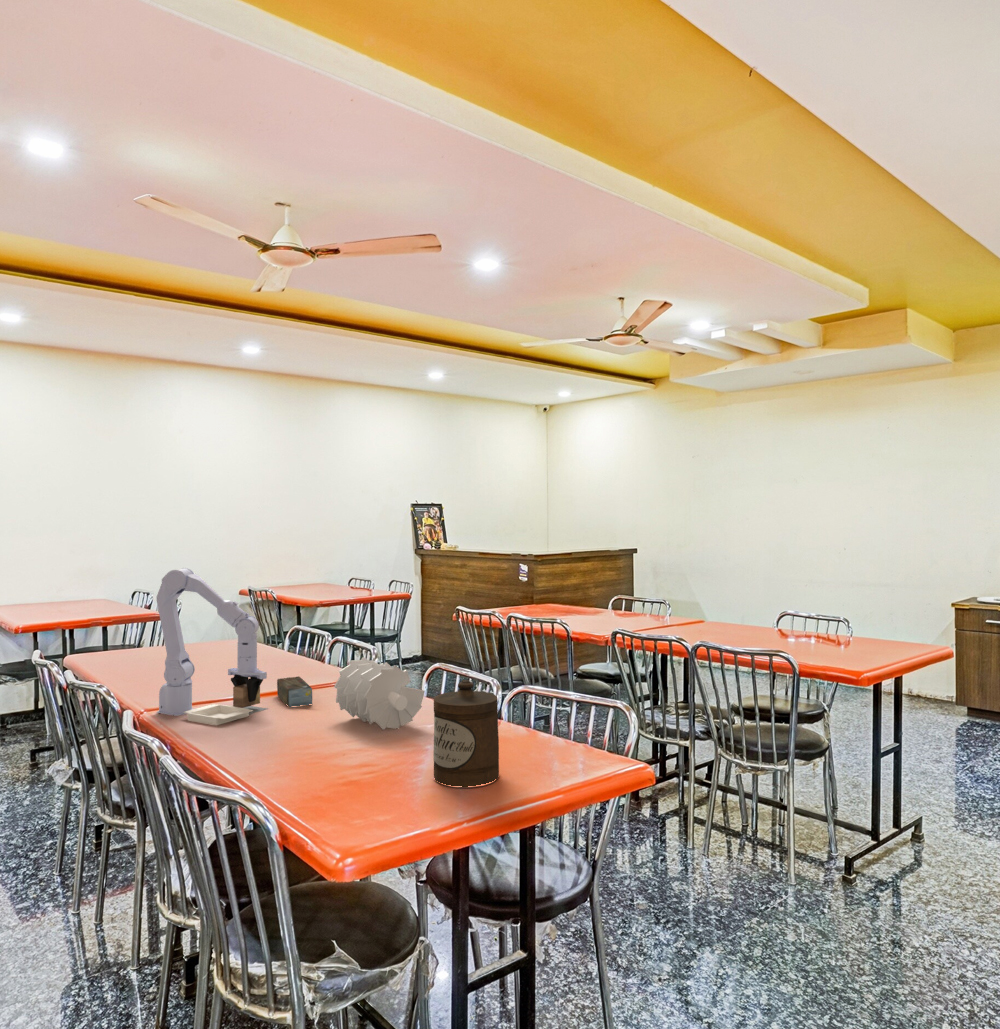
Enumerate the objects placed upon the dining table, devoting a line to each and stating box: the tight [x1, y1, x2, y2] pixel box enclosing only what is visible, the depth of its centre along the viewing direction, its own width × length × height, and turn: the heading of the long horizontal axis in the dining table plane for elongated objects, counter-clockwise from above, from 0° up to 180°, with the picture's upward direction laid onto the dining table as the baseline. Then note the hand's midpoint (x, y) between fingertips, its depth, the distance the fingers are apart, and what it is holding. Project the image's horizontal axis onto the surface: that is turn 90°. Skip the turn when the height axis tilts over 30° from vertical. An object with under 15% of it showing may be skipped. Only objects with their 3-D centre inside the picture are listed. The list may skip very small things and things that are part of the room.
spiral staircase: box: [333, 656, 426, 731], centre depth 216 cm, size 18×18×25 cm
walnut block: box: [232, 684, 261, 708], centre depth 230 cm, size 7×4×6 cm, turn 152°
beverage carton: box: [276, 676, 313, 708], centre depth 244 cm, size 8×19×7 cm, turn 27°
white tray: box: [183, 703, 253, 726], centre depth 220 cm, size 17×12×2 cm
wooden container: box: [432, 679, 500, 787], centre depth 169 cm, size 15×15×22 cm
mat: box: [244, 705, 269, 715], centre depth 230 cm, size 9×9×1 cm
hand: (246, 700), depth 230 cm, fingers closed on walnut block, 4 cm apart
